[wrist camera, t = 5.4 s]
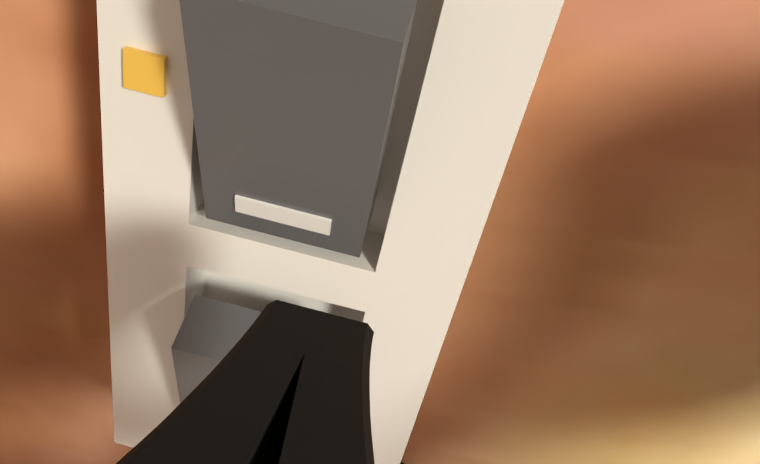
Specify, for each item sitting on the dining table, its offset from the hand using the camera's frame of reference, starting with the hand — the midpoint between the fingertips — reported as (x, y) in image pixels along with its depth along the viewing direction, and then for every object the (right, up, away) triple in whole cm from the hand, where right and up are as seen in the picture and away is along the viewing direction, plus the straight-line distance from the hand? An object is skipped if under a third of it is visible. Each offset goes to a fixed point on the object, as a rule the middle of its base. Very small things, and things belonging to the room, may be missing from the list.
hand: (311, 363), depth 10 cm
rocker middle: (-1, +4, +4) cm, 5 cm away
